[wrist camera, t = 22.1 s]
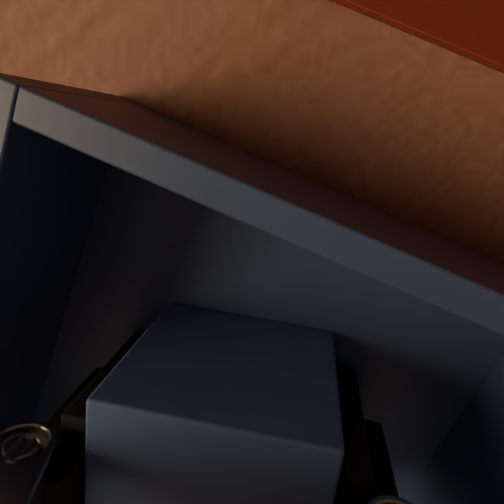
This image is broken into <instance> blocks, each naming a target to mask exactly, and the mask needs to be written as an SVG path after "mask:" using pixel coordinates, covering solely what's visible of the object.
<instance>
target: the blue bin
mask: <svg viewBox="0 0 504 504" xmlns="http://www.w3.org/2000/svg"><path fill="white" fill-rule="evenodd" d="M170 303H172V304H178V305H183V306H189V307H195V308H200V309H206V310H212V311H217V312H223V313H229V314H234V315H240V316H245V317H251V318H257V319H262V320H268V321H274V322H279V323H285V324H290V325H296V326H302V327H307V328H313V329H319V330H324V331H330V332H332V333H333V335H334V345H335V356H336V364H337V365H343V366H348V367H353V368H355V370H356V376H357V382H358V388H359V393H360V399H361V405H362V411H363V417H364V419H366V420H372V421H377V422H380V423H381V424H382V427H383V431H384V435H385V440H386V444H387V448H388V453H389V457H390V461H391V466H392V470H393V474H394V478H395V483H396V487H397V491H398V496H399V497H400V498H403V499H405V500H407V501H409V502H411V503H413V504H504V263H503V262H501V261H499V260H496V259H494V258H492V257H489V256H487V255H485V254H482V253H480V252H478V251H476V250H473V249H471V248H469V247H466V246H464V245H462V244H459V243H457V242H455V241H452V240H450V239H448V238H445V237H443V236H441V235H438V234H436V233H434V232H431V231H429V230H427V229H424V228H422V227H420V226H417V225H415V224H413V223H411V222H408V221H406V220H404V219H401V218H399V217H397V216H394V215H392V214H390V213H387V212H385V211H383V210H380V209H378V208H376V207H373V206H371V205H369V204H366V203H364V202H362V201H359V200H357V199H355V198H352V197H350V196H348V195H346V194H343V193H341V192H339V191H336V190H334V189H332V188H329V187H327V186H325V185H322V184H320V183H318V182H315V181H313V180H311V179H308V178H306V177H304V176H301V175H299V174H297V173H294V172H292V171H290V170H287V169H285V168H283V167H281V166H278V165H276V164H274V163H271V162H269V161H267V160H264V159H262V158H260V157H257V156H255V155H253V154H250V153H248V152H246V151H243V150H241V149H239V148H236V147H234V146H232V145H229V144H227V143H225V142H222V141H220V140H218V139H215V138H213V137H211V136H209V135H206V134H204V133H202V132H199V131H197V130H195V129H192V128H190V127H188V126H185V125H183V124H181V123H178V122H176V121H174V120H171V119H169V118H167V117H164V116H162V115H160V114H157V113H155V112H153V111H150V110H148V109H146V108H144V107H141V106H139V105H137V104H134V103H132V102H130V101H127V100H125V99H123V98H120V97H118V96H116V95H111V94H106V93H101V92H96V91H91V90H86V89H80V88H75V87H70V86H65V85H60V84H54V83H49V82H44V81H39V80H33V79H28V78H23V77H18V76H12V75H7V74H2V73H0V428H2V427H5V426H7V425H9V424H12V423H16V422H20V421H31V420H34V421H41V422H46V421H47V420H48V419H49V418H50V417H51V416H52V415H53V413H54V412H55V411H56V410H57V409H58V408H59V407H60V406H61V405H62V404H63V403H64V402H65V401H66V399H67V398H68V397H69V396H70V395H71V394H72V393H73V392H74V391H75V390H76V389H77V388H78V387H79V385H80V384H81V383H82V382H83V381H84V380H85V379H86V378H87V377H88V376H89V375H90V374H91V373H92V371H93V370H95V369H96V368H99V367H100V368H103V367H104V366H105V365H106V364H107V362H108V361H109V360H110V359H111V358H112V357H113V356H114V355H115V354H116V352H117V351H118V350H119V349H120V348H121V347H122V346H123V345H124V344H125V342H126V341H127V340H128V339H129V338H130V337H131V336H132V335H133V334H134V332H135V331H136V330H137V329H138V328H141V329H148V327H149V326H150V325H151V324H152V323H153V322H154V320H155V319H156V318H157V317H158V316H159V315H160V313H161V312H162V311H163V310H164V309H165V308H166V306H167V305H168V304H170Z"/></svg>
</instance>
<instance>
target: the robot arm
mask: <svg viewBox="0 0 504 504" xmlns="http://www.w3.org/2000/svg"><path fill="white" fill-rule="evenodd" d="M146 330H147V329H141V328H138V329H137V330H136V331H135V332H134V334H133V335H132V336H131V337H130V338H129V339H128V340H127V341H126V342H125V344H124V345H123V346H122V347H121V348H120V349H119V350H118V351H117V352H116V354H115V355H114V356H113V357H112V358H111V359H110V360H109V361H108V362H107V364H106V365H105V366H104V367H103V368H100V367H99V368H96V369H95V370H93V371H92V373H91V374H90V375H89V376H88V377H87V378H86V379H85V380H84V381H83V382H82V383H81V384H80V385H79V387H78V388H77V389H76V390H75V391H74V392H73V393H72V394H71V395H70V396H69V397H68V398H67V399H66V401H65V402H64V403H63V404H62V405H61V406H60V407H59V408H58V409H57V410H56V411H55V412H54V413H53V415H52V416H51V417H50V418H49V419H48V420H47V421H46V422H41V421H34V420H31V421H20V422H16V423H12V424H9V425H7V426H5V427H2V428H0V504H84V489H85V437H86V401H87V399H88V397H89V396H90V395H91V394H92V393H93V392H94V390H95V389H96V388H97V387H98V386H99V385H100V383H101V382H102V381H103V380H104V379H105V378H106V376H107V375H108V374H109V373H110V372H111V371H112V369H113V368H114V367H115V366H116V365H117V364H118V362H119V361H120V360H121V359H122V358H123V357H124V355H125V354H126V353H127V352H128V351H129V350H130V348H131V347H132V346H133V345H134V344H135V343H136V341H137V340H138V339H139V338H140V337H141V336H142V334H143V333H144V332H145V331H146ZM336 367H337V377H338V388H339V399H340V410H341V420H342V431H343V442H344V452H345V454H344V459H343V463H342V467H341V472H340V476H339V481H338V485H337V489H336V494H335V498H334V502H333V504H413V503H411V502H409V501H407V500H405V499H403V498H400V497H399V496H398V491H397V487H396V483H395V478H394V474H393V470H392V466H391V461H390V457H389V453H388V448H387V444H386V440H385V435H384V431H383V427H382V424H381V423H380V422H377V421H372V420H366V419H364V417H363V411H362V405H361V399H360V393H359V388H358V382H357V376H356V370H355V368H353V367H348V366H343V365H337V364H336Z"/></svg>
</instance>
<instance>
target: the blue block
mask: <svg viewBox="0 0 504 504" xmlns="http://www.w3.org/2000/svg"><path fill="white" fill-rule="evenodd" d="M344 454H345V452H344V442H343V431H342V420H341V410H340V399H339V388H338V377H337V367H336V356H335V345H334V335H333V333H332V332H330V331H324V330H319V329H313V328H307V327H302V326H296V325H290V324H285V323H279V322H274V321H268V320H262V319H257V318H251V317H245V316H240V315H234V314H229V313H223V312H217V311H212V310H206V309H200V308H195V307H189V306H183V305H178V304H172V303H170V304H168V305H167V306H166V308H165V309H164V310H163V311H162V312H161V313H160V315H159V316H158V317H157V318H156V319H155V320H154V322H153V323H152V324H151V325H150V326H149V327H148V329H147V330H146V331H145V332H144V333H143V334H142V336H141V337H140V338H139V339H138V340H137V341H136V343H135V344H134V345H133V346H132V347H131V348H130V350H129V351H128V352H127V353H126V354H125V355H124V357H123V358H122V359H121V360H120V361H119V362H118V364H117V365H116V366H115V367H114V368H113V369H112V371H111V372H110V373H109V374H108V375H107V376H106V378H105V379H104V380H103V381H102V382H101V383H100V385H99V386H98V387H97V388H96V389H95V390H94V392H93V393H92V394H91V395H90V396H89V397H88V399H87V401H86V437H85V489H84V504H333V502H334V498H335V494H336V489H337V485H338V481H339V476H340V472H341V467H342V463H343V459H344Z"/></svg>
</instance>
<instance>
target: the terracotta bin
mask: <svg viewBox="0 0 504 504" xmlns="http://www.w3.org/2000/svg"><path fill="white" fill-rule="evenodd" d="M331 1H333V2H336V3H338V4H340V5H343V6H345V7H347V8H350V9H352V10H355V11H357V12H359V13H362V14H364V15H367V16H369V17H371V18H374V19H376V20H378V21H381V22H383V23H386V24H388V25H390V26H393V27H395V28H398V29H400V30H402V31H405V32H407V33H409V34H412V35H414V36H417V37H419V38H421V39H424V40H426V41H429V42H431V43H433V44H436V45H438V46H440V47H443V48H445V49H448V50H450V51H452V52H455V53H457V54H460V55H462V56H464V57H467V58H469V59H471V60H474V61H476V62H479V63H481V64H483V65H486V66H488V67H491V68H493V69H495V70H498V71H500V72H502V73H504V0H331Z"/></svg>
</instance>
